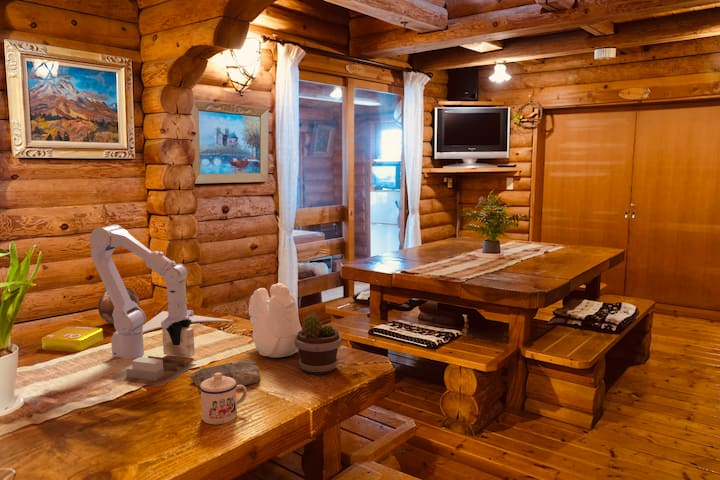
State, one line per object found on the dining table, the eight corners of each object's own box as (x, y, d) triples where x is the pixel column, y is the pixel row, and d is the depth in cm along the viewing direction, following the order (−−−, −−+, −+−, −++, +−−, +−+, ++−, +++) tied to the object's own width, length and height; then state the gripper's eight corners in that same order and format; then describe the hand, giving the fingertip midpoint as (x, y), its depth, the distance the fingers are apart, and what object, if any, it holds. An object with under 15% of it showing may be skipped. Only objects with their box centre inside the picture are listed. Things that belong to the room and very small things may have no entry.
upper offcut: (132, 369, 167) (131, 361, 167) (140, 364, 171) (140, 356, 170) (155, 372, 165) (154, 363, 165) (163, 367, 168) (162, 359, 168)
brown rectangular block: (163, 354, 185) (162, 327, 184) (168, 351, 187) (166, 325, 186) (190, 357, 182) (188, 330, 181) (194, 354, 184) (193, 328, 183)
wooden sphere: (91, 329, 217) (88, 291, 215) (112, 318, 232) (110, 282, 230) (128, 330, 216) (126, 292, 213) (147, 319, 230) (145, 283, 228)
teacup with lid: (208, 429, 138) (206, 383, 136) (196, 414, 146) (194, 371, 144) (254, 416, 145) (252, 373, 143) (240, 403, 152) (239, 362, 151)
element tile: (106, 339, 207) (105, 326, 206) (78, 353, 192) (77, 339, 192) (69, 336, 210) (68, 324, 209) (39, 350, 195) (38, 337, 194)
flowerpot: (314, 357, 187) (313, 298, 184) (352, 367, 178) (352, 305, 175) (284, 371, 175) (283, 308, 172) (322, 382, 167) (322, 316, 164)
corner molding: (232, 324, 229) (162, 314, 233) (232, 320, 229) (162, 311, 233) (201, 356, 200) (122, 344, 204) (201, 351, 200) (122, 340, 204)
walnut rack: (108, 382, 167) (107, 372, 166) (148, 361, 184) (148, 352, 183) (160, 389, 161) (160, 379, 161) (196, 367, 178) (196, 358, 178)
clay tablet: (193, 396, 158) (264, 384, 165) (192, 379, 157) (263, 368, 164) (188, 379, 171) (254, 369, 178) (187, 364, 170) (254, 354, 177)
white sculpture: (312, 358, 187) (311, 284, 183) (267, 367, 179) (265, 290, 175) (282, 337, 208) (280, 270, 204) (240, 344, 200) (238, 275, 196)
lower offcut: (126, 376, 168) (126, 368, 168) (135, 371, 172) (135, 363, 172) (155, 380, 165) (154, 372, 165) (163, 375, 169) (163, 367, 169)
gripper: (174, 309, 174) (176, 351, 176) (200, 298, 188) (202, 337, 190) (154, 307, 176) (156, 349, 178) (182, 296, 190) (184, 335, 192)
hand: (179, 343), depth 184 cm, fingers closed on brown rectangular block, 2 cm apart
